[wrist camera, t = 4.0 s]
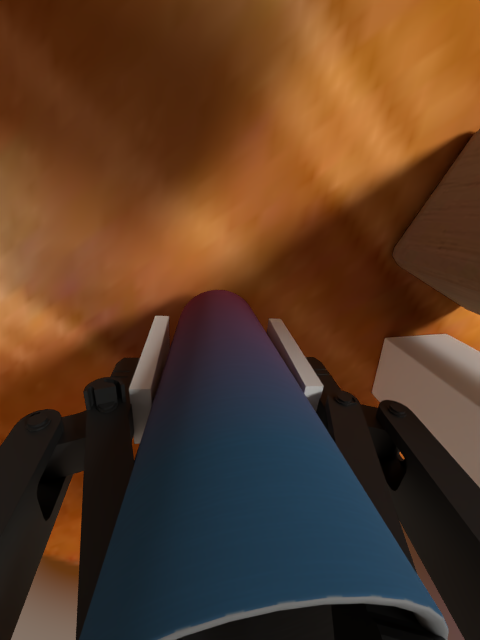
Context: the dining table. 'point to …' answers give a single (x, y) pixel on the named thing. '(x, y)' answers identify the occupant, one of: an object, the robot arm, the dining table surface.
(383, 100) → the dining table surface
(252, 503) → the cup
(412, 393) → the milk
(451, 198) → the wooden block
